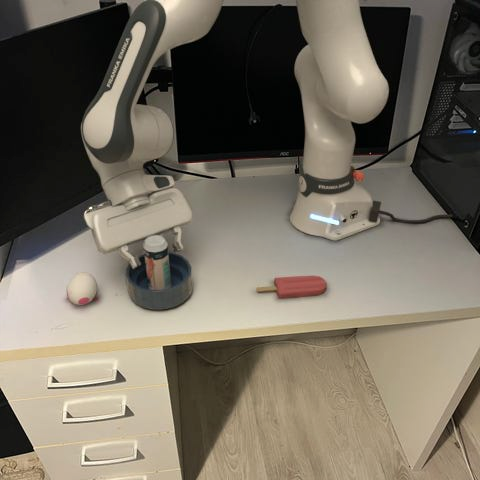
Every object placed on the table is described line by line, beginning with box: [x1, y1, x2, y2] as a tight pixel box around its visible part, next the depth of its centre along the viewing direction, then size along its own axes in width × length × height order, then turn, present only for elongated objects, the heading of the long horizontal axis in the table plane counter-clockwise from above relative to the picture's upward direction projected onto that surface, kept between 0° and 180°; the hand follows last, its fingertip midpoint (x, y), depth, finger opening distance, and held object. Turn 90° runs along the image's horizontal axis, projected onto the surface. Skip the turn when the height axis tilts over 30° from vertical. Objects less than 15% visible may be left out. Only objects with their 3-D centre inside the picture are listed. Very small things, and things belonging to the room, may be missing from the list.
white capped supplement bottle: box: [142, 234, 172, 290], centre depth 104 cm, size 5×5×12 cm
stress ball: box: [65, 272, 99, 306], centre depth 105 cm, size 8×8×7 cm
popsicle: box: [256, 275, 328, 299], centre depth 109 cm, size 5×2×15 cm
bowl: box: [125, 251, 193, 310], centre depth 107 cm, size 13×13×6 cm
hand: (158, 258), depth 102 cm, fingers open, 8 cm apart
